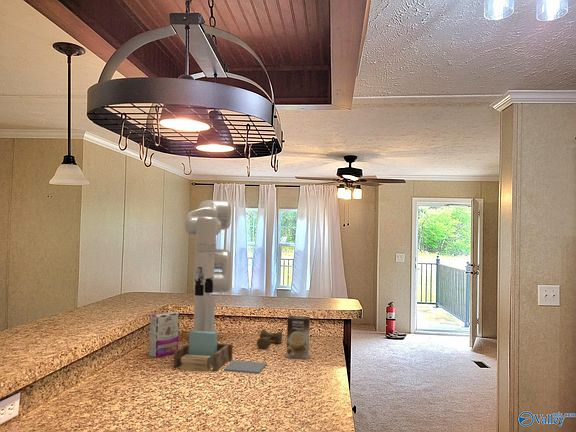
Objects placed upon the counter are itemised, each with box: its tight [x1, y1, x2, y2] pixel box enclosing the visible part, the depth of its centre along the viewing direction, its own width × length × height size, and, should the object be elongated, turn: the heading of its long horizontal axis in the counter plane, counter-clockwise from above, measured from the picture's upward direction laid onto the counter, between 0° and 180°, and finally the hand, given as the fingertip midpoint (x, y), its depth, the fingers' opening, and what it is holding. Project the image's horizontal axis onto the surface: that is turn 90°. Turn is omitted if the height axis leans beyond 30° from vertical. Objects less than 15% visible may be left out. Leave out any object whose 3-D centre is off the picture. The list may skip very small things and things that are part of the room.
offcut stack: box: [179, 355, 212, 372], centre depth 166 cm, size 5×10×4 cm, turn 82°
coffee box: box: [285, 315, 311, 360], centre depth 188 cm, size 9×6×16 cm
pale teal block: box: [188, 330, 218, 367], centre depth 173 cm, size 3×10×12 cm, turn 80°
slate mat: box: [223, 360, 268, 375], centre depth 170 cm, size 12×13×1 cm
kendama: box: [256, 329, 283, 350], centre depth 208 cm, size 6×10×20 cm
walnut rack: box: [173, 341, 233, 372], centre depth 173 cm, size 16×18×6 cm
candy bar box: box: [148, 311, 180, 359], centre depth 186 cm, size 11×5×16 cm, turn 143°
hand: (204, 294), depth 174 cm, fingers open, 9 cm apart
